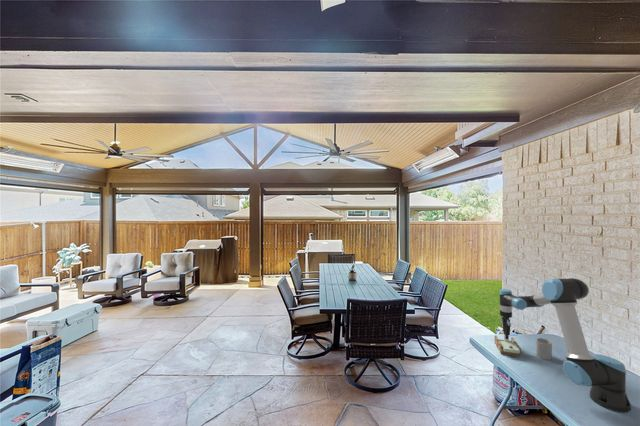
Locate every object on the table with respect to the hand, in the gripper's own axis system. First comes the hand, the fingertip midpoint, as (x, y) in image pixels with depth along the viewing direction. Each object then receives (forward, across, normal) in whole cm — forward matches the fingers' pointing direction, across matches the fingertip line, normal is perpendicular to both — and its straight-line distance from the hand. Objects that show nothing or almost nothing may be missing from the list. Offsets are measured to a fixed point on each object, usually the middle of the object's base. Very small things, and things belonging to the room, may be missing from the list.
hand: (506, 342), depth 204 cm
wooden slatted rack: (+4, -2, 0) cm, 5 cm away
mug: (+5, -4, -21) cm, 22 cm away
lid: (+1, -7, 0) cm, 7 cm away
